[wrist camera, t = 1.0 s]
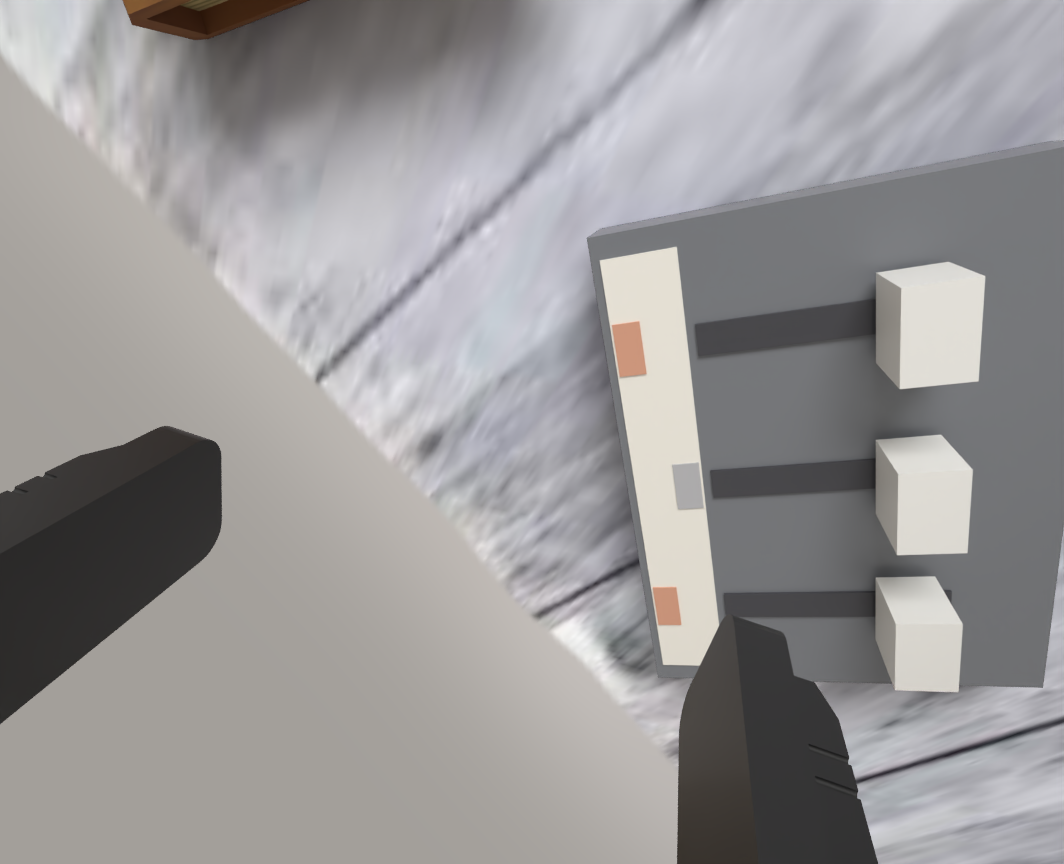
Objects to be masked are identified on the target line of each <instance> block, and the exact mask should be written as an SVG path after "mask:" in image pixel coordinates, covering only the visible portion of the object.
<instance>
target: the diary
mask: <svg viewBox="0 0 1064 864" xmlns="http://www.w3.org/2000/svg"><path fill="white" fill-rule="evenodd" d="M306 1H309V0H123V3H124V5H125V8H126V10H127V13H128V15H129V18H130V21H131V23H132V25H135V26H139V27H143V28H147V29H152V30H156V31H160V32H164V33H168V34H172V35H176V36H181V37H185V38H189V39H193V40H202V39H209V38H212V37H215V36H217V35H220V34H222V33H225V32H228V31H230V30H233V29H235V28H238V27H241V26H243V25H246V24H249V23H251V22H254V21H256V20H259V19H262V18H264V17H267V16H269V15H272V14H275V13H277V12H280V11H282V10H285V9H288V8H290V7H293V6H296V5H298V4H301V3H303V2H306Z"/></svg>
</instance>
